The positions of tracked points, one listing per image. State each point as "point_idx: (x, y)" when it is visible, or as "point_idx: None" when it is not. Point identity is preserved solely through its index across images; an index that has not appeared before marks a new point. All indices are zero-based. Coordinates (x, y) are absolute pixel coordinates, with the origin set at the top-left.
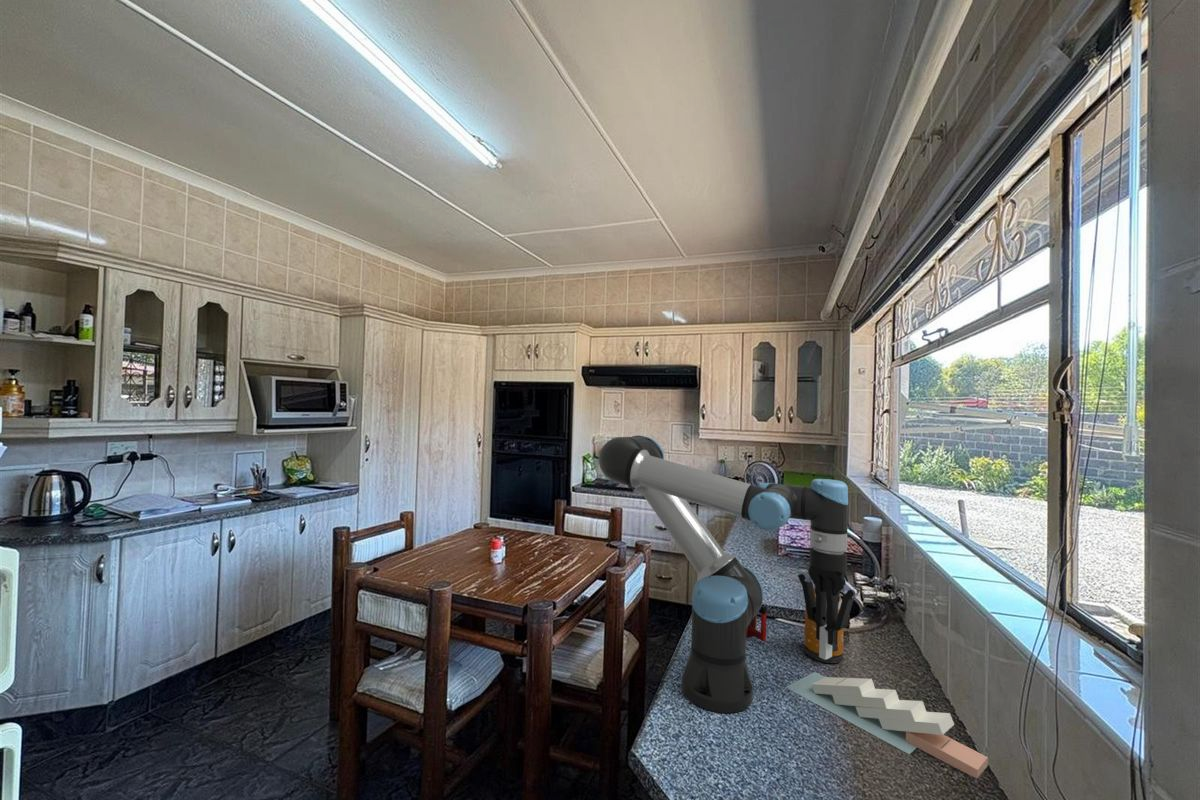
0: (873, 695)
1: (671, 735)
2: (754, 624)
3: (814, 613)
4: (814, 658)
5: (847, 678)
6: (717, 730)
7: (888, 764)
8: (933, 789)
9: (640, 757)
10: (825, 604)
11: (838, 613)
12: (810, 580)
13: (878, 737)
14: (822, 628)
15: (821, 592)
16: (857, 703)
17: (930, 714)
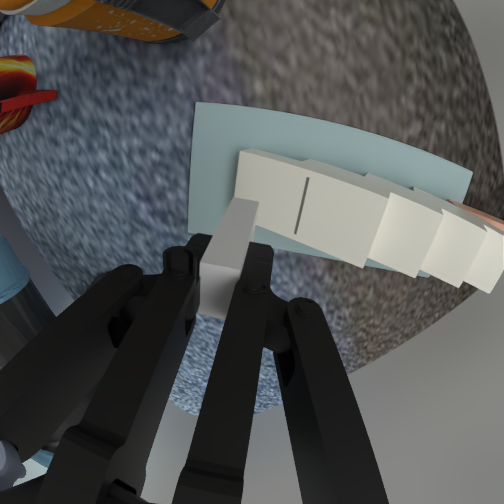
0: (392, 252)
1: (178, 392)
2: (15, 83)
3: (127, 306)
4: (165, 42)
5: (311, 176)
6: (198, 373)
7: (398, 312)
8: (441, 316)
9: (187, 412)
10: (157, 380)
11: (288, 427)
12: (14, 468)
13: (387, 269)
14: (212, 315)
15: (138, 489)
16: None
17: (487, 243)
